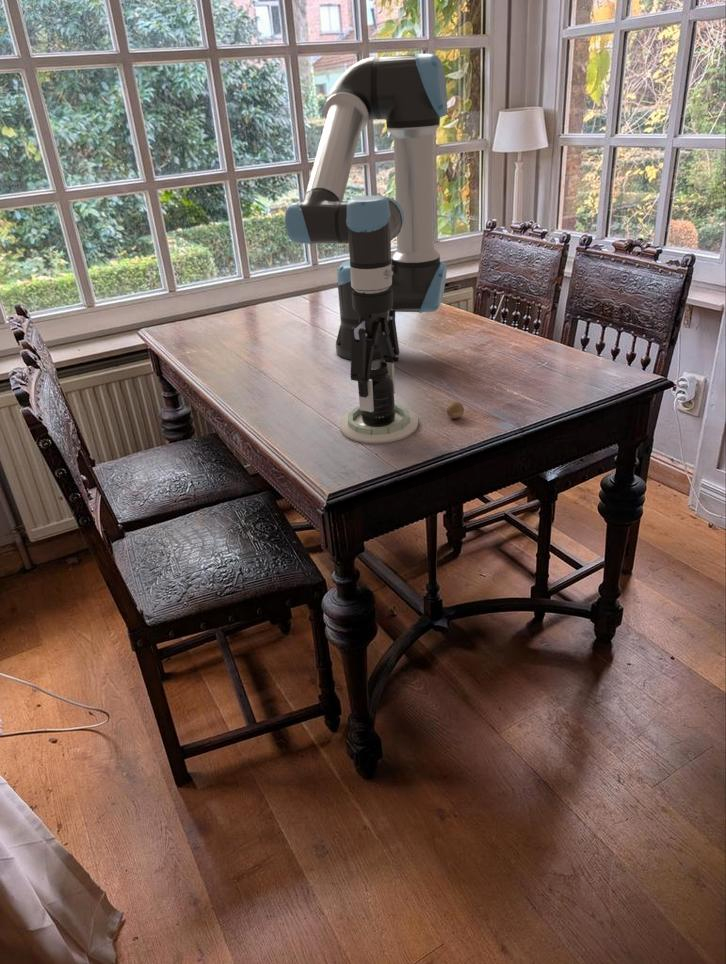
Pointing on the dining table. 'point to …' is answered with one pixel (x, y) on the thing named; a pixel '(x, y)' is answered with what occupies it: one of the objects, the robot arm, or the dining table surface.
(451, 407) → the wooden bead
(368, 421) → the supplement bottle
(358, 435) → the plate
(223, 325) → the dining table surface
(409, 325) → the dining table surface
